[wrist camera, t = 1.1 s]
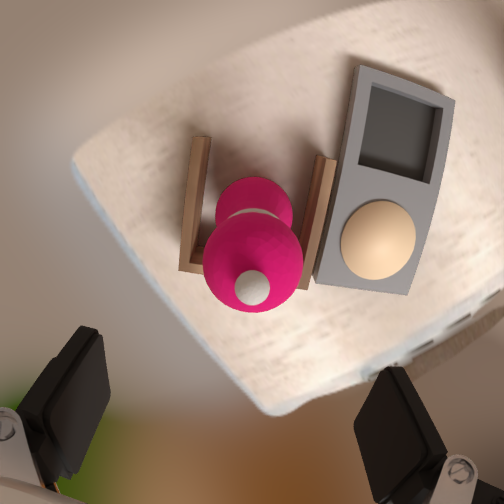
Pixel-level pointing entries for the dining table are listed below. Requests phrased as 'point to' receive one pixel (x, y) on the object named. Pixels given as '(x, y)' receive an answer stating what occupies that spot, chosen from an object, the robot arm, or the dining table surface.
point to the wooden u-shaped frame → (194, 198)
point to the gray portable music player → (384, 183)
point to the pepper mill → (253, 247)
